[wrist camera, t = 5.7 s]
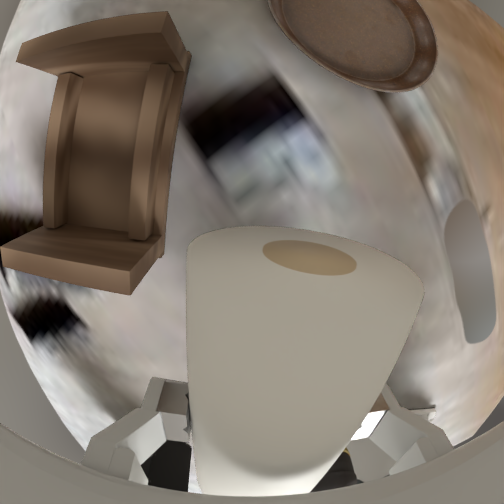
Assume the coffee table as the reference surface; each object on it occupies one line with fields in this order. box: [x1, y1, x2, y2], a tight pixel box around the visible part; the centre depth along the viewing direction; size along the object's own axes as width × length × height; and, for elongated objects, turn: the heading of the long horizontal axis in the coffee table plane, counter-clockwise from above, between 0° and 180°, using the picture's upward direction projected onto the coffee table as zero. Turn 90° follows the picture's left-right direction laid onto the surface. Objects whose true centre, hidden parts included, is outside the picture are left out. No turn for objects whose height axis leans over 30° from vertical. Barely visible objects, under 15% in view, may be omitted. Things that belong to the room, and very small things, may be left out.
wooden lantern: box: [0, 11, 192, 295], centre depth 16 cm, size 18×12×9 cm, turn 171°
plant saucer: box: [267, 0, 438, 92], centre depth 16 cm, size 18×18×3 cm
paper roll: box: [186, 226, 424, 496], centre depth 9 cm, size 12×6×6 cm
